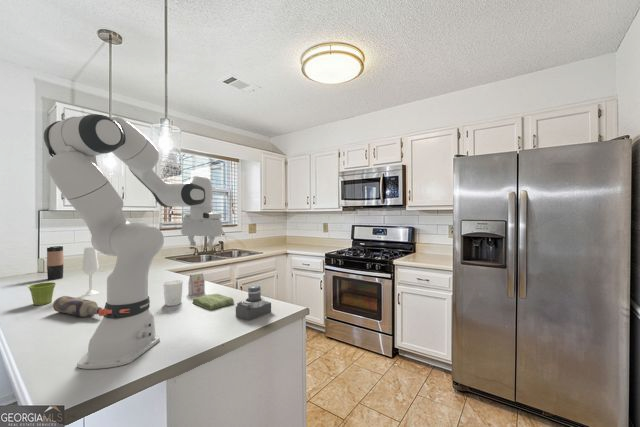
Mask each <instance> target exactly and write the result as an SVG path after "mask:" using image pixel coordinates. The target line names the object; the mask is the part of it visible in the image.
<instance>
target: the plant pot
mask: <svg viewBox="0 0 640 427" xmlns="http://www.w3.org/2000/svg"><path fill="white" fill-rule="evenodd" d="M56 285H57V282H54V281H50V282H40V283H35V284H31V285H28V286H27V288H28V289H29V292H30V294H31V299H32V304H33V305H34V306H42V305H47V304H50V303H52V301H53V295H54V292H55V291H54V289H55V287H56Z"/></svg>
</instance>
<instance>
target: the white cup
mask: <svg viewBox="0 0 640 427" xmlns="http://www.w3.org/2000/svg"><path fill="white" fill-rule="evenodd" d="M162 286H163V298H164V305H165V306H166V307H167V306H168V307H174V306H179V305H181V304H182V296H183V280H181V279H174V280H173V279H172V280H167V281H164V282H163V284H162Z"/></svg>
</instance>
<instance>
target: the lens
mask: <svg viewBox="0 0 640 427" xmlns="http://www.w3.org/2000/svg"><path fill="white" fill-rule="evenodd" d="M261 289H262V288H261V286H260V285H252V286H249V287H248V288H247V293H248V294H247V295H248V297H247V298H248V302H258V301H261V297H262V296H261V294H262V293H261V292H262V290H261Z"/></svg>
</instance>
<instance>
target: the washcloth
mask: <svg viewBox="0 0 640 427" xmlns="http://www.w3.org/2000/svg"><path fill="white" fill-rule="evenodd" d="M234 303H235V301H234V298H233V297H231V296H227V295H223V294H221V293H220V294H219V293H212V294H205V295H204V294H203V295H201V296H199V297H198V296H197V297H196V296H195V297H193V298H192V304H193V305H196V306H199V307H201V308H204V309H206V310H208V311H211V310H215V309H219V308H222V307H227V306H230V305H233V304H234Z"/></svg>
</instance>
